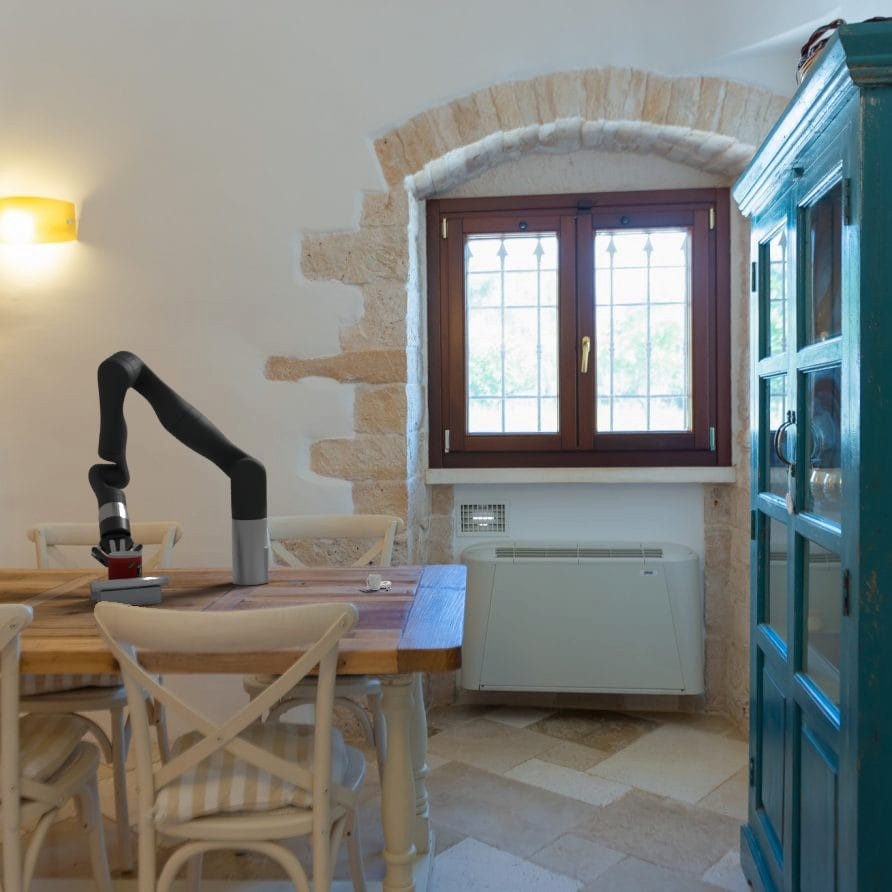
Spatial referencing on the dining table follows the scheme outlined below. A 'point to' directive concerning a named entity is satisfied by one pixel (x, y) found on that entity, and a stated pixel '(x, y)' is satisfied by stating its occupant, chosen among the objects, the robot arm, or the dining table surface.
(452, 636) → the dining table surface
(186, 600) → the dining table surface
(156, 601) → the cradle
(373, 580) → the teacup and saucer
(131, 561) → the canned food
